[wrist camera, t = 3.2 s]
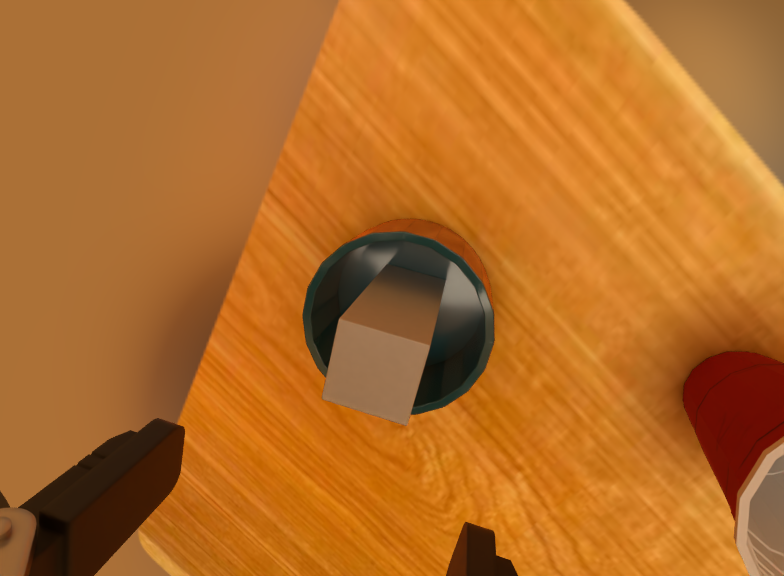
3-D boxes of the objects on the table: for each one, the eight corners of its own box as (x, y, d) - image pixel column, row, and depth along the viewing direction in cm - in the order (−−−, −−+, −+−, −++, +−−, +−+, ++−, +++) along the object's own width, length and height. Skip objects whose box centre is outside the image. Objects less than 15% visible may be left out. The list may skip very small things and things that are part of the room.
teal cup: (321, 344, 32) (288, 383, 27) (351, 200, 29) (322, 209, 24) (464, 388, 31) (462, 437, 26) (511, 243, 28) (521, 263, 22)
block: (373, 319, 30) (321, 399, 20) (386, 263, 29) (338, 318, 19) (430, 335, 30) (406, 426, 20) (446, 280, 29) (430, 345, 18)
